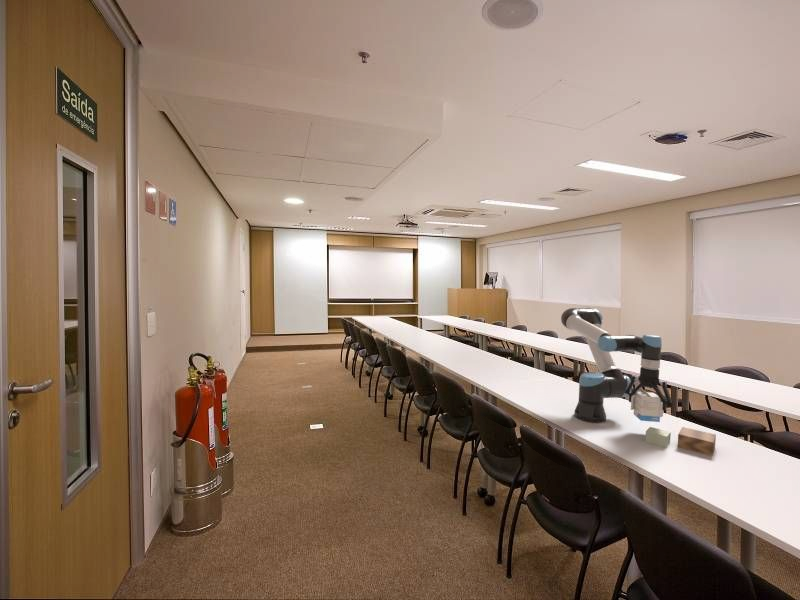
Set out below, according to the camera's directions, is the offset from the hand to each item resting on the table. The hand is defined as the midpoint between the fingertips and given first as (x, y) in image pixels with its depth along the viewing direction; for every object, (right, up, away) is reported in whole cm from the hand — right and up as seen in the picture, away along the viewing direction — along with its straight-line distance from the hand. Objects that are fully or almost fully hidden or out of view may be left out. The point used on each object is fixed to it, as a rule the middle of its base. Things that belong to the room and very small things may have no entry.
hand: (646, 412), depth 183 cm
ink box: (0, -3, 0) cm, 3 cm away
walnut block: (+13, -11, -14) cm, 22 cm away
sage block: (-1, -10, -10) cm, 14 cm away
